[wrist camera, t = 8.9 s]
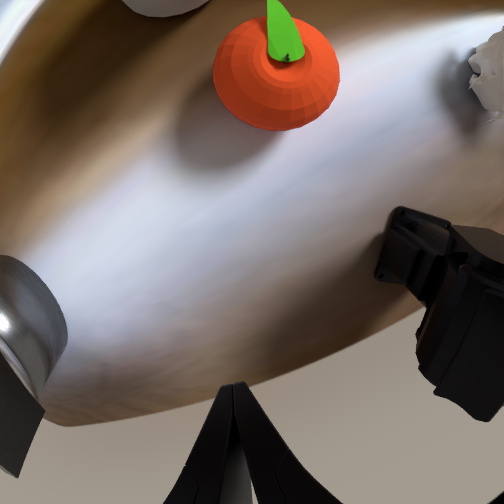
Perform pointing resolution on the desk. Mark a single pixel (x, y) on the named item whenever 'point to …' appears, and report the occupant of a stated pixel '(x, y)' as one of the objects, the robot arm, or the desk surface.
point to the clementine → (276, 71)
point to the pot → (30, 320)
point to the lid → (16, 412)
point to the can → (163, 6)
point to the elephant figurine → (489, 74)
